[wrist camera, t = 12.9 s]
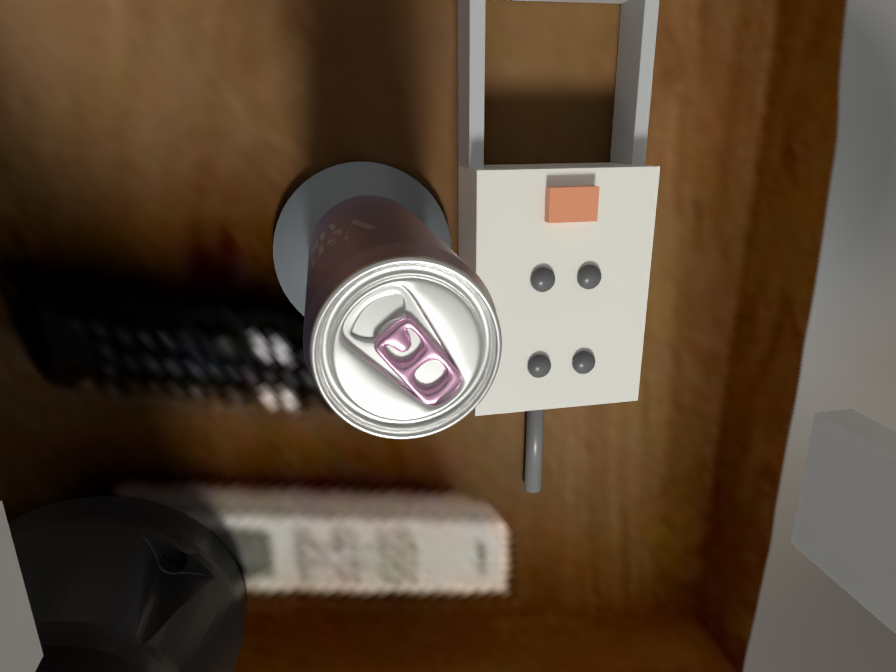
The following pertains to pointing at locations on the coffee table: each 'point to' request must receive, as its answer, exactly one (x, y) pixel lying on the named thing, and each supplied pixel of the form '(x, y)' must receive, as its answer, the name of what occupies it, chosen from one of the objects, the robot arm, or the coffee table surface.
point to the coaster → (325, 194)
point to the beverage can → (395, 322)
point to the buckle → (561, 242)
